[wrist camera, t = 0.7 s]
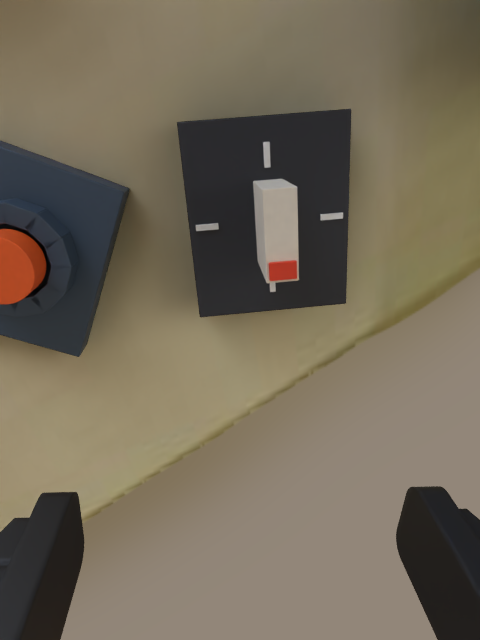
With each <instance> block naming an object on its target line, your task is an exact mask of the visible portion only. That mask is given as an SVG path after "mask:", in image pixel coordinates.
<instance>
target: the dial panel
mask: <svg viewBox="0 0 480 640" xmlns="http://www.w3.org/2000/svg"><path fill="white" fill-rule="evenodd" d="M177 126H178V135H179V143H180V152H181V160H182V169H183V178H184V186H185V195H186V203H187V212H188V220H189V229H190V237H191V246H192V254H193V263H194V271H195V280H196V288H197V297H198V305H199V314H200V317H208V316H218V315H229V314H239V313H250V312H261V311H271V310H282V309H292V308H303V307H313V306H324V305H335V304H345V303H346V284H347V247H348V210H349V172H350V135H351V109H342V110H329V111H316V112H303V113H290V114H277V115H264V116H251V117H238V118H224V119H211V120H198V121H185V122H177ZM272 179H284V180H286V181H287V182H289V183H291V184H293V185H295V186H297V200H298V254H299V280H298V281H288V282H277V283H267V282H266V280H265V278H264V275H263V273H262V271H261V268H260V266H259V263H258V259H257V241H256V224H255V206H254V189H253V181H260V180H272Z"/></svg>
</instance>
